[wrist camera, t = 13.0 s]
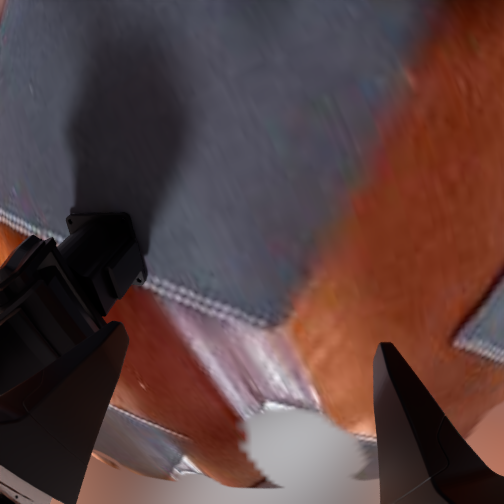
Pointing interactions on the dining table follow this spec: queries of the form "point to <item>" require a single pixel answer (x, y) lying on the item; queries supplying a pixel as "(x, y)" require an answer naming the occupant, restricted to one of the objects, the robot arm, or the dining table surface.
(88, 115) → the dining table surface
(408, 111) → the dining table surface
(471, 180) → the dining table surface
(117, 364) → the robot arm
